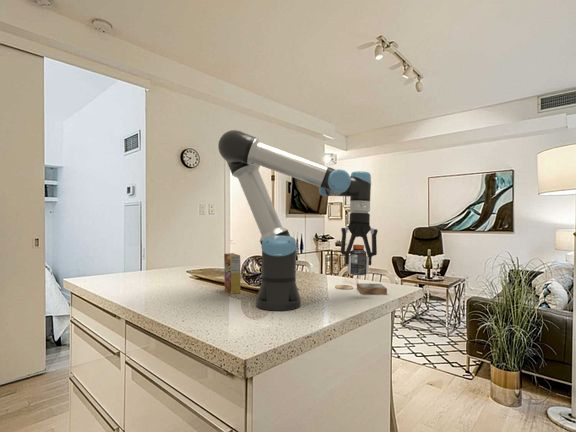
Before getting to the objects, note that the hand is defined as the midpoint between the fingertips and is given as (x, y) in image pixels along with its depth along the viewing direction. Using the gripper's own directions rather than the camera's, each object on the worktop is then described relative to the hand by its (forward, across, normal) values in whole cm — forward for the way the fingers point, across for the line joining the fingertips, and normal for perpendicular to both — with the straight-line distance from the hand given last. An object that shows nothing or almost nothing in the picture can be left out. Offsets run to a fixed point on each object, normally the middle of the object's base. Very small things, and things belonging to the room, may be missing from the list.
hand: (357, 273), depth 125 cm
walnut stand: (+9, +8, +11) cm, 16 cm away
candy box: (+11, -49, +8) cm, 51 cm away
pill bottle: (+1, 0, 0) cm, 1 cm away
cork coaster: (+9, -2, +19) cm, 21 cm away
